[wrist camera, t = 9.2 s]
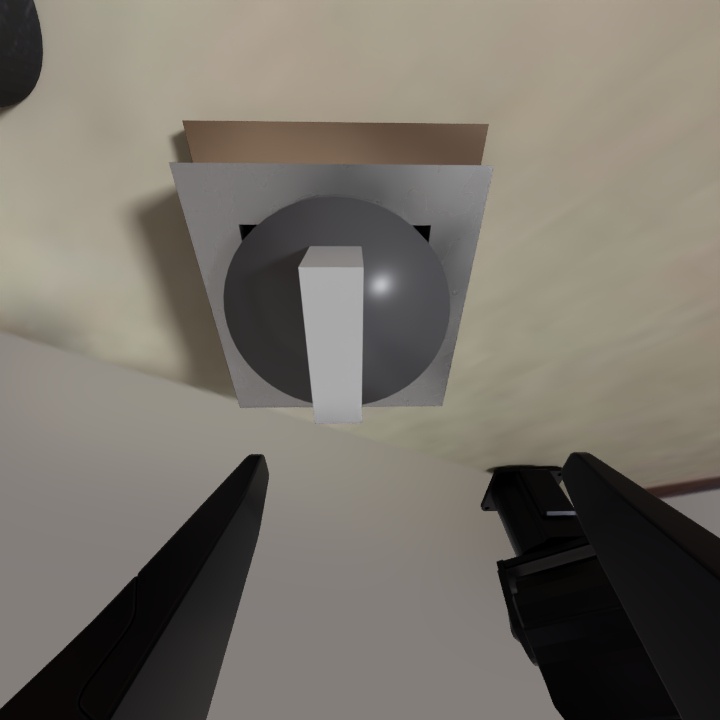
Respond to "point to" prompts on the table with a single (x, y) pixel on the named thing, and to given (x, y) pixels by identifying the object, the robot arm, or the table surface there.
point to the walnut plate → (335, 143)
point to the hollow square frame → (300, 181)
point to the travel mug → (19, 50)
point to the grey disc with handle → (336, 303)
